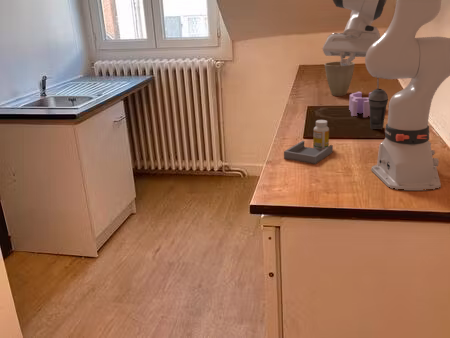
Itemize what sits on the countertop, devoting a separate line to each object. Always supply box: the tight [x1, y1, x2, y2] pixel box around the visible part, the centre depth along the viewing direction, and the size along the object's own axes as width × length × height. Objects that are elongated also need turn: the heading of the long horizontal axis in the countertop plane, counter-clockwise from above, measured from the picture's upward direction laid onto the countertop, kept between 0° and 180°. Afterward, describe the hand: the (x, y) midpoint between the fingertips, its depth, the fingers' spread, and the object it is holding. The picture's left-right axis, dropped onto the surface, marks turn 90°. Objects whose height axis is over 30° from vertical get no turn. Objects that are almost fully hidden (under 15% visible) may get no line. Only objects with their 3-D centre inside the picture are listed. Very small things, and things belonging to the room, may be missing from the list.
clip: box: [348, 91, 372, 118], centre depth 206 cm, size 20×12×7 cm, turn 158°
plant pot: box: [324, 60, 356, 97], centre depth 239 cm, size 15×15×16 cm
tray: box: [283, 140, 334, 165], centre depth 158 cm, size 13×12×2 cm
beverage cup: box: [368, 77, 389, 130], centre depth 179 cm, size 7×7×20 cm
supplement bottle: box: [312, 119, 330, 150], centre depth 164 cm, size 5×5×10 cm
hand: (344, 64), depth 166 cm, fingers closed
